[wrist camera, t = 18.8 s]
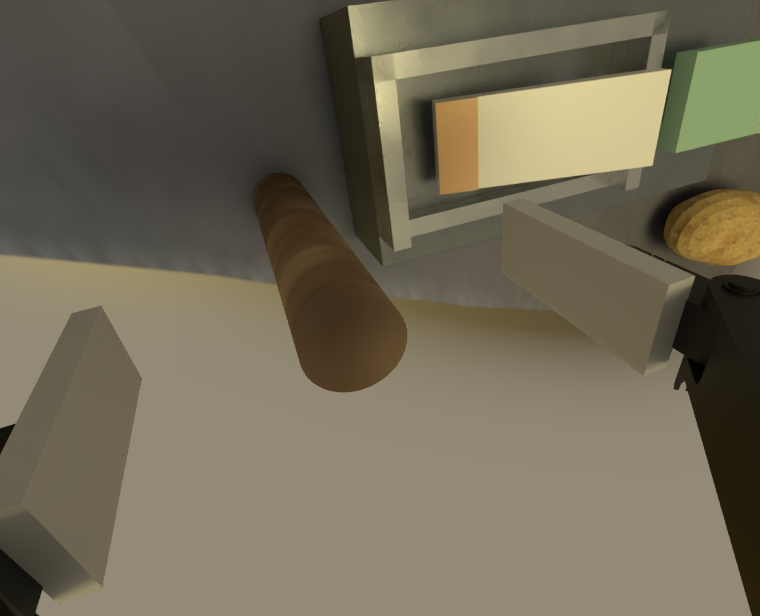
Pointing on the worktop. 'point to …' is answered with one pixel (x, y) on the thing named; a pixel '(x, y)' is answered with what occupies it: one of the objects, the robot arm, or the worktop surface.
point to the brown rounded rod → (326, 292)
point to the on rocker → (712, 96)
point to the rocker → (548, 130)
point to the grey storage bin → (486, 74)
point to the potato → (716, 227)
